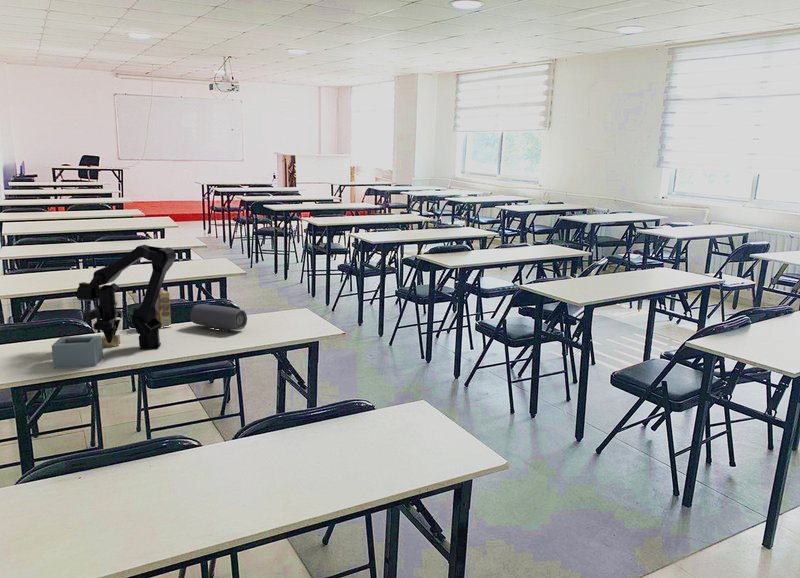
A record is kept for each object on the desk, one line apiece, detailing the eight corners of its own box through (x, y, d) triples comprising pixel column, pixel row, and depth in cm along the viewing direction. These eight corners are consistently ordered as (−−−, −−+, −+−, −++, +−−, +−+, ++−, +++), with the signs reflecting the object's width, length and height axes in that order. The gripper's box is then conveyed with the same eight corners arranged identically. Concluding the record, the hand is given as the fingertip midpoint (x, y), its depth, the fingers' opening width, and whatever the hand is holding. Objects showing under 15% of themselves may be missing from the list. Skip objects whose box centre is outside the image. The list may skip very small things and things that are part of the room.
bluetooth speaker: (248, 329, 253) (247, 306, 250) (234, 335, 244) (233, 311, 242) (205, 323, 261) (203, 301, 259) (190, 328, 253) (188, 305, 250)
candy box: (172, 327, 254) (169, 292, 251) (161, 328, 252) (159, 293, 248) (165, 322, 261) (162, 288, 258) (154, 324, 258) (152, 289, 255)
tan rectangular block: (120, 343, 232) (119, 334, 231) (118, 346, 228) (117, 337, 228) (103, 344, 230) (102, 335, 230) (101, 347, 227) (100, 338, 226)
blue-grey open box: (103, 356, 216) (101, 335, 214) (95, 365, 207) (93, 343, 205) (63, 358, 213) (61, 337, 212) (54, 368, 204) (51, 345, 202)
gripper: (90, 296, 233) (94, 335, 236) (76, 308, 215) (80, 349, 218) (121, 295, 235) (124, 334, 239) (109, 307, 217) (113, 348, 221)
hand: (110, 341), depth 229 cm, fingers closed on tan rectangular block, 3 cm apart
